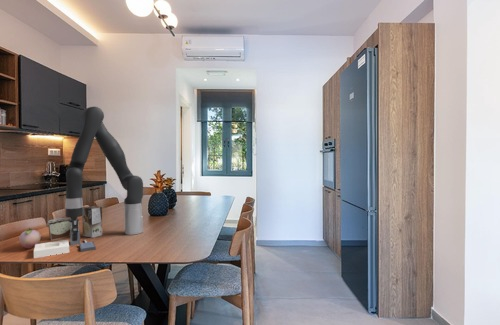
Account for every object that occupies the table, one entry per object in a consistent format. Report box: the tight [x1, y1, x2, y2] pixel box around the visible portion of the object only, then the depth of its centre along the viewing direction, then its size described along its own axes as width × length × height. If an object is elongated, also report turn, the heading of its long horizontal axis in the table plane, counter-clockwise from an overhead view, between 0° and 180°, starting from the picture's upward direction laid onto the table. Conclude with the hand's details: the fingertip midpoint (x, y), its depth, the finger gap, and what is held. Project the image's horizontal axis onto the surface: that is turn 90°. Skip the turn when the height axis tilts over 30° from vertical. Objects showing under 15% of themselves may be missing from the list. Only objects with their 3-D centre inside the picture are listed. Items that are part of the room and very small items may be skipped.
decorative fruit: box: [18, 227, 42, 249], centre depth 137 cm, size 9×8×10 cm
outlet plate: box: [33, 239, 70, 259], centre depth 132 cm, size 13×13×3 cm
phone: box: [78, 239, 97, 253], centre depth 141 cm, size 6×19×1 cm, turn 35°
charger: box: [69, 228, 81, 246], centre depth 144 cm, size 4×4×7 cm
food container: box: [46, 217, 71, 241], centre depth 156 cm, size 12×6×10 cm, turn 149°
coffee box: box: [81, 205, 103, 239], centre depth 159 cm, size 9×6×16 cm
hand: (74, 238), depth 143 cm, fingers open, 8 cm apart
